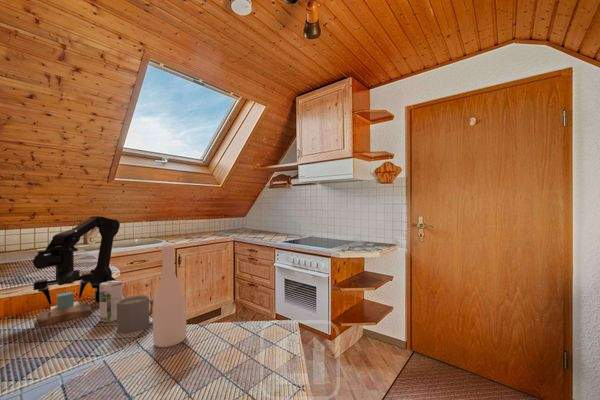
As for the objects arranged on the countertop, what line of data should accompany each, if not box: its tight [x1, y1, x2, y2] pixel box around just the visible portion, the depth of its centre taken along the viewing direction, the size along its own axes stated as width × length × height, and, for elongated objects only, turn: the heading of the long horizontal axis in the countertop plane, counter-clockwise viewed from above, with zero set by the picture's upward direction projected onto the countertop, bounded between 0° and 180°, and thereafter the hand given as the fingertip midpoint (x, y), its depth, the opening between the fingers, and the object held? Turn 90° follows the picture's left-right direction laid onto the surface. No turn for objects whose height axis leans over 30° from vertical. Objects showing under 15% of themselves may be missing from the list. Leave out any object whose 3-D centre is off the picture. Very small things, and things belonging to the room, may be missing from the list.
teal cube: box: [56, 291, 75, 309], centre depth 113 cm, size 5×5×5 cm
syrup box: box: [99, 280, 124, 323], centre depth 107 cm, size 6×6×14 cm
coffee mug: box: [116, 294, 155, 335], centre depth 99 cm, size 13×10×10 cm
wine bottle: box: [152, 244, 188, 348], centre depth 86 cm, size 10×10×30 cm
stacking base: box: [37, 301, 93, 328], centre depth 113 cm, size 16×13×4 cm
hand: (65, 301), depth 113 cm, fingers open, 9 cm apart
